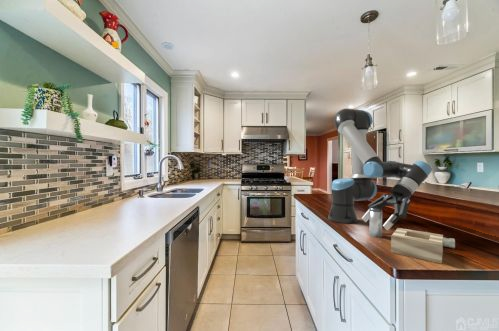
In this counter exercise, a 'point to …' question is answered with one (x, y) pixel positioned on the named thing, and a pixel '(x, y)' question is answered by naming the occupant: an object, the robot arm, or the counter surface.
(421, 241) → the socket block
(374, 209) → the capped cylinder
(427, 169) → the robot arm
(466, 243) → the counter surface
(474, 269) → the counter surface
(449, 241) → the pipe fitting
